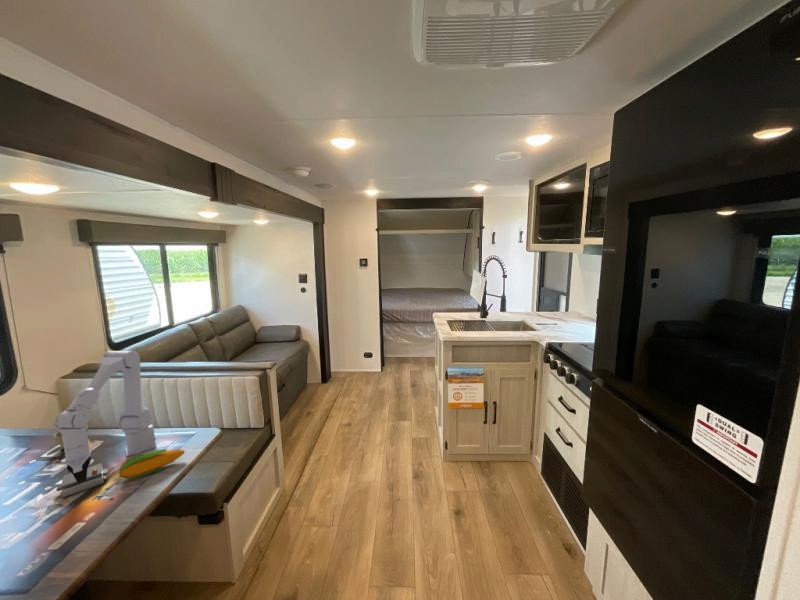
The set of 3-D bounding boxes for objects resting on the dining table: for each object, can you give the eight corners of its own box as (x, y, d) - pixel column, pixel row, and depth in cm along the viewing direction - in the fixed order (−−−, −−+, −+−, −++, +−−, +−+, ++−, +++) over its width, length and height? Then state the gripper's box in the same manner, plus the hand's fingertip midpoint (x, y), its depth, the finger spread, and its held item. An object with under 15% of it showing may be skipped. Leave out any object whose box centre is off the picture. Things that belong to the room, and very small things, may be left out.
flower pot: (87, 436, 142) (84, 421, 141) (92, 444, 136) (90, 429, 135) (54, 447, 134) (51, 432, 133) (59, 456, 128) (56, 440, 127)
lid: (102, 465, 119) (101, 459, 119) (102, 476, 113) (101, 469, 113) (63, 478, 113) (62, 471, 112) (61, 490, 106) (60, 483, 106)
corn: (117, 457, 117) (182, 437, 130) (119, 475, 118) (183, 453, 131) (117, 469, 111) (185, 446, 124) (120, 488, 113) (187, 463, 126)
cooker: (108, 471, 120) (107, 464, 120) (108, 482, 115) (107, 474, 114) (59, 488, 112) (57, 480, 111) (57, 500, 106) (55, 492, 106)
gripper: (61, 439, 110) (66, 474, 112) (56, 459, 99) (63, 498, 101) (89, 431, 115) (94, 465, 117) (88, 450, 104) (93, 487, 106)
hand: (81, 480), depth 109 cm, fingers closed, pressing on lid
